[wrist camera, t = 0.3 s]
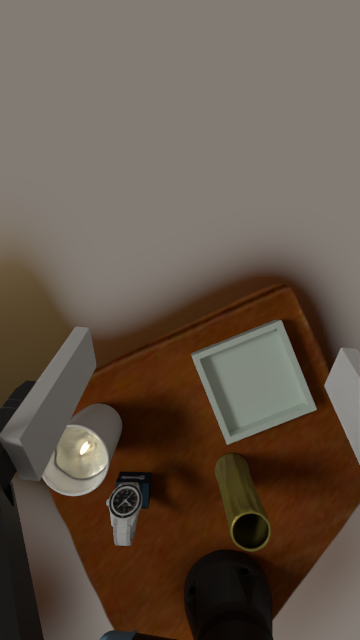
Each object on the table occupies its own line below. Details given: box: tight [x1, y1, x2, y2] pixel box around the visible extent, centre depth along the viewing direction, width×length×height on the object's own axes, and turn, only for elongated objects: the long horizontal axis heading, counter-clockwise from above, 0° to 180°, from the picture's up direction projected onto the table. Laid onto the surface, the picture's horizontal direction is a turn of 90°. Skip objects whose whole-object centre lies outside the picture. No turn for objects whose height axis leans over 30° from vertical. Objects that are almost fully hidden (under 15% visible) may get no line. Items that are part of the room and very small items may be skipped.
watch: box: [106, 472, 151, 546], centre depth 45 cm, size 6×8×11 cm
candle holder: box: [42, 403, 122, 496], centre depth 44 cm, size 10×10×12 cm
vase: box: [215, 454, 271, 552], centre depth 43 cm, size 6×6×14 cm
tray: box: [191, 320, 317, 444], centre depth 48 cm, size 16×16×3 cm
